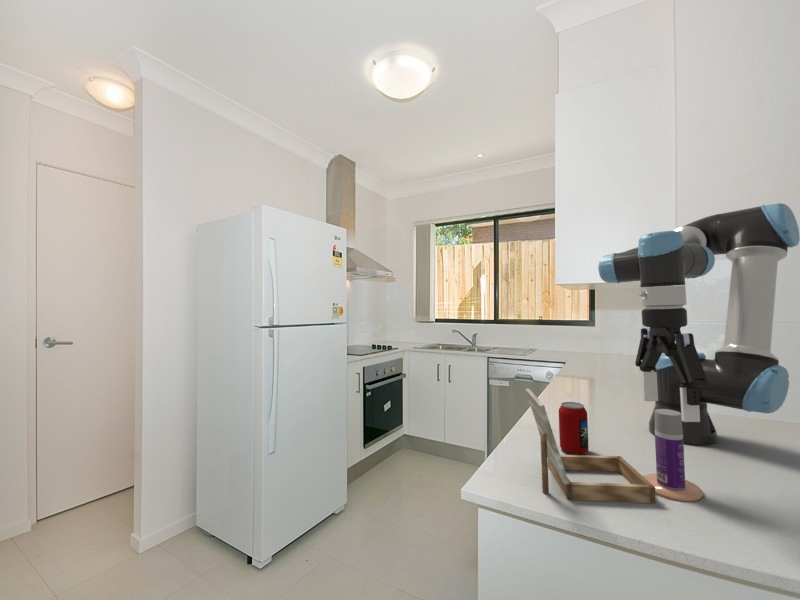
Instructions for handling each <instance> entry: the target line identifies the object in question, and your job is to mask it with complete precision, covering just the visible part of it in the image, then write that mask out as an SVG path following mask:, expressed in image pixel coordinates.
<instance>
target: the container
mask: <svg viewBox="0 0 800 600" xmlns="http://www.w3.org/2000/svg"><path fill="white" fill-rule="evenodd" d="M654 444H655V446H654V448H655V468H656V469H655V470H656V474H657V483H658V485H660V486H661V487H663V488H666V489H669V490H673V491H683V490H685V480H686V471H685V449H684V448H685V447H684V444H685V443H683V429H682V418H681V413H680V412H678V411H674V410H669V409H656V410H655V435H654Z"/></svg>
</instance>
